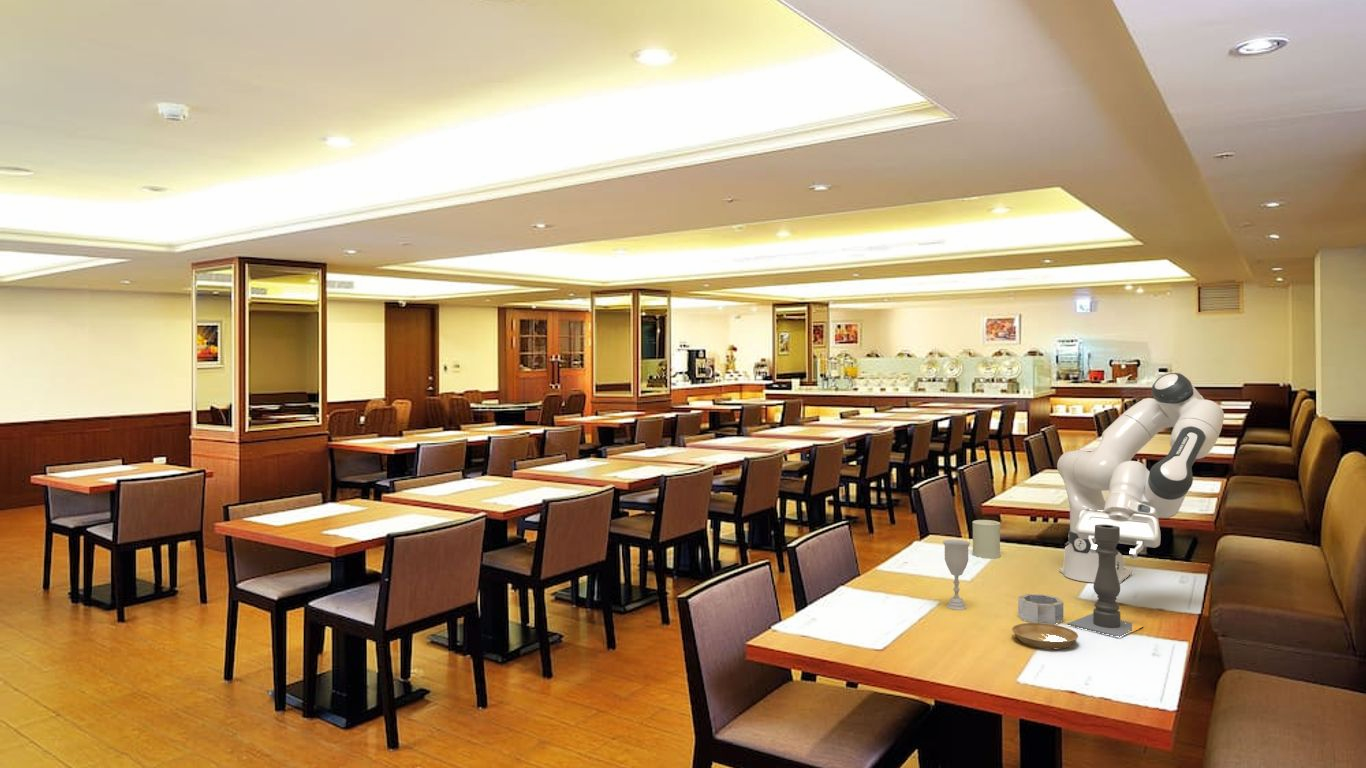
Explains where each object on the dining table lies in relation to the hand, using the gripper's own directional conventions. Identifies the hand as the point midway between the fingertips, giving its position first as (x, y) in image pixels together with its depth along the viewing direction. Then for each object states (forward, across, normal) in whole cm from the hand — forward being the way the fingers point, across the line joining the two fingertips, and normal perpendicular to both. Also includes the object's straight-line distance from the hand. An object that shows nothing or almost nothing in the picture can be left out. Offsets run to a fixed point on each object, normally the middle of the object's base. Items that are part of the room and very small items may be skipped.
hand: (1112, 554), depth 223 cm
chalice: (+24, -36, 0) cm, 43 cm away
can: (-22, -51, +46) cm, 71 cm away
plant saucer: (+34, -8, -10) cm, 37 cm away
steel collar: (+21, -14, +2) cm, 26 cm away
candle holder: (+19, +1, +4) cm, 19 cm away
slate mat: (+19, +1, +4) cm, 20 cm away
